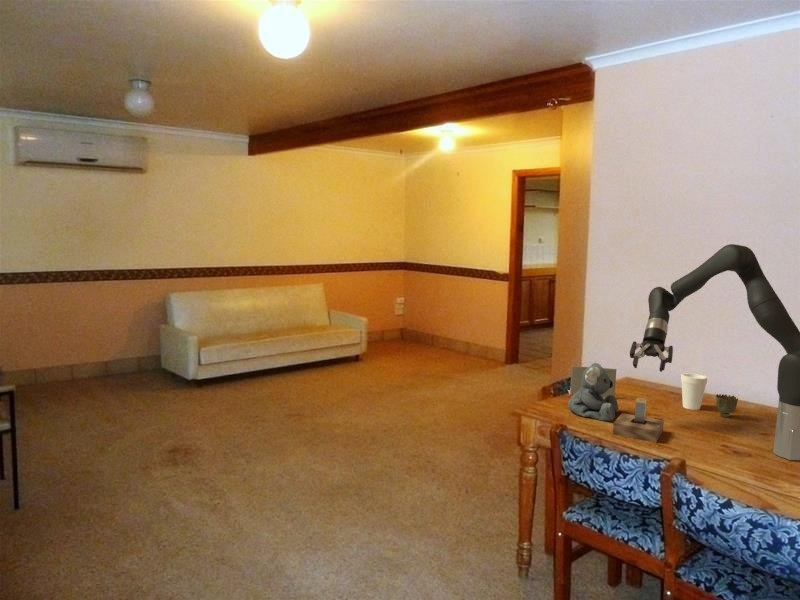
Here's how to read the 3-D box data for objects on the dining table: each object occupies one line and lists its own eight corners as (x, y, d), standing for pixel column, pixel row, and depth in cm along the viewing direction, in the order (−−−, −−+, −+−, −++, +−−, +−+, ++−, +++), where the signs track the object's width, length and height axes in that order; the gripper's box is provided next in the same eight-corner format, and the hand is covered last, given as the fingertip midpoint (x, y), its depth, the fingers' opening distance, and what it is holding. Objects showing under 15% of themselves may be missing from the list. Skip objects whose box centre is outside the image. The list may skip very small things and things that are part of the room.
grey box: (609, 392, 269) (611, 362, 268) (614, 399, 257) (616, 369, 255) (567, 388, 272) (569, 360, 271) (569, 396, 260) (571, 366, 258)
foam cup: (689, 411, 242) (692, 379, 241) (673, 404, 251) (676, 373, 250) (709, 410, 245) (712, 378, 243) (692, 403, 254) (695, 372, 252)
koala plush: (613, 423, 223) (618, 371, 221) (563, 416, 231) (566, 364, 228) (618, 411, 239) (622, 362, 237) (571, 404, 246) (574, 356, 244)
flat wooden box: (662, 431, 216) (663, 420, 216) (656, 442, 204) (657, 430, 204) (621, 423, 223) (622, 413, 223) (612, 434, 211) (613, 422, 211)
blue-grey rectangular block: (643, 432, 215) (646, 398, 213) (642, 434, 212) (645, 400, 211) (634, 430, 216) (637, 397, 215) (633, 432, 213) (636, 399, 212)
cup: (738, 420, 233) (740, 399, 232) (717, 418, 234) (719, 397, 233) (732, 414, 240) (734, 394, 239) (711, 412, 241) (713, 392, 240)
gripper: (634, 324, 230) (626, 359, 221) (676, 328, 222) (669, 365, 214) (636, 336, 235) (627, 371, 226) (676, 341, 228) (669, 377, 219)
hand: (647, 368), depth 220 cm, fingers open, 8 cm apart
